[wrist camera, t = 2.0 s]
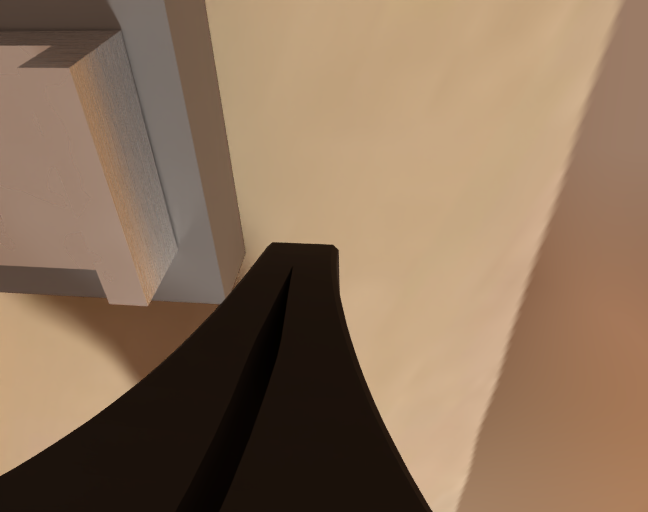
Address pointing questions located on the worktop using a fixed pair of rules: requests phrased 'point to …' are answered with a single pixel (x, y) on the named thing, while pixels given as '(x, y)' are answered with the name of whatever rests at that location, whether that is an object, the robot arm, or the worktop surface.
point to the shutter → (79, 163)
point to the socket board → (158, 141)
